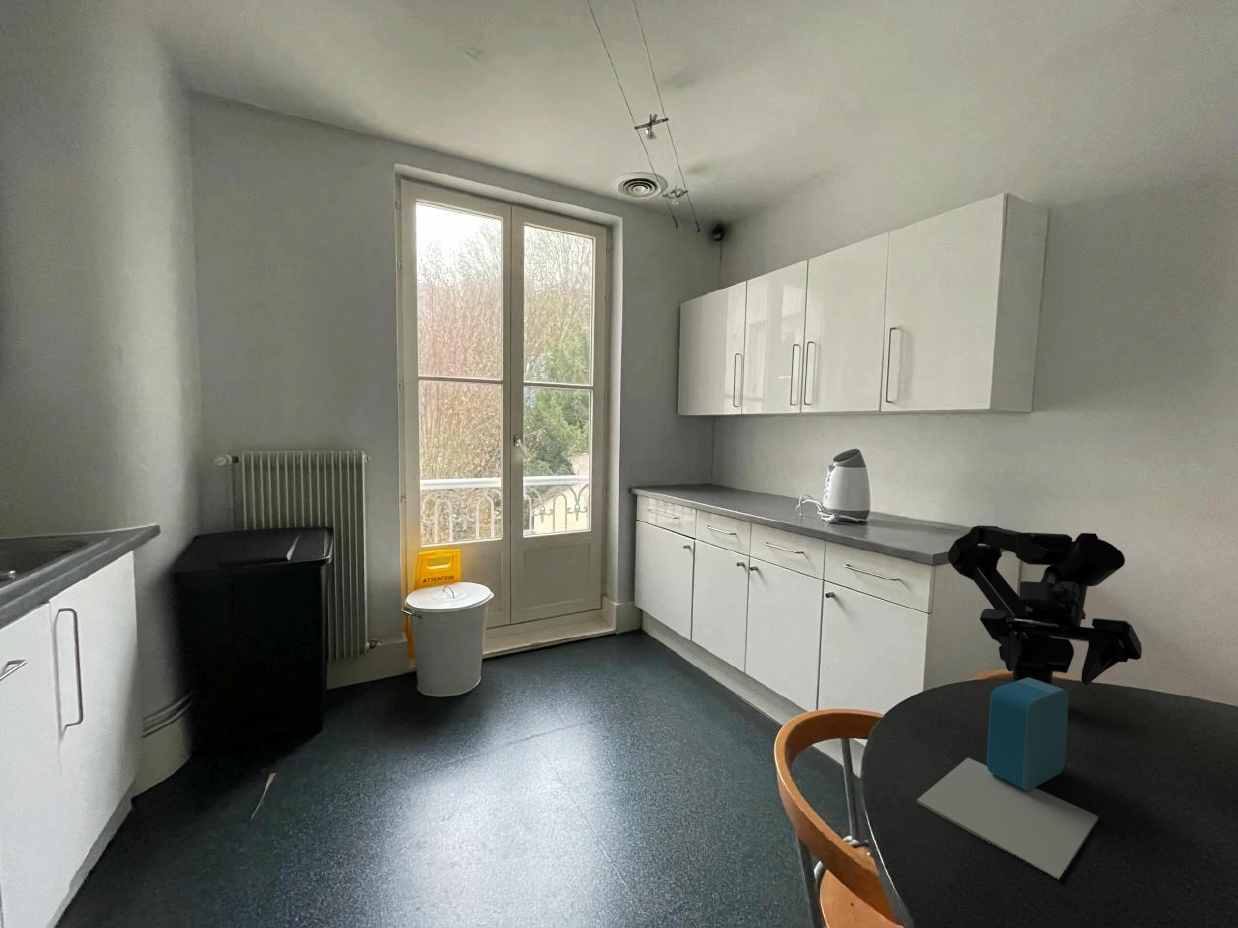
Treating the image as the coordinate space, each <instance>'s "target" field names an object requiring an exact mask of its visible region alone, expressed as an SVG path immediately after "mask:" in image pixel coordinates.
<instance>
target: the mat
mask: <svg viewBox="0 0 1238 928" xmlns="http://www.w3.org/2000/svg"><path fill="white" fill-rule="evenodd" d="M916 804H918V805H920V806H922V807H924V808H925V809H927V810H929V811H930V812H932V813H934V814H936V815H938V816H940V818H943V819H944V820H946V821H949V822H951V823H953V824H954V825H956V826H957V827H960V828H961V829H963V830H965V831H967V832H968V833H970V834H972V835H974V836H975V837H977V838H979V837H980V838H979V839H981V840H982V839H983V841H984V840H985V841H984V842H986V841H987V842H986V843H988V844H990V843H991V844H992V845H991V844H990V845H991V846H993V845H995V846H997V847H999V848H1000V849H1003V850H1004V851H1007V852H1008V853H1011V854H1012V855H1016V856H1017V857H1019V858H1020V859H1023V860H1025V861H1026V862H1027V863H1030V864H1031V865H1033V866H1034V867H1036V868H1038V869H1040V870H1042V871H1044V872H1046V873H1048V874H1049V875H1051V876H1052V877H1054V878H1057V879H1058V880H1059V879H1060V877H1061V876H1062V874H1063V873H1064V871H1065V870H1066V869H1067V870H1068V868H1069V867H1070V865H1071V863H1072V862H1073V860H1074V859H1075V857H1076V856H1077V854H1078V852H1079V851H1080V849H1081V847H1082V845H1083V844H1084V843H1085V841H1086V840H1087V838H1088V836H1089V835H1090V833H1091V832H1092V830H1093V828H1094V827H1095V825H1096V824H1097V822H1098V820H1099V816H1098V815H1096V814H1094V813H1092V812H1089V811H1088V810H1085V809H1084V808H1083V809H1082V808H1080V807H1078V806H1077V805H1074V804H1072V803H1070V802H1067V801H1065V800H1064V799H1061V798H1058V797H1056V796H1054V795H1052V794H1050V793H1047V792H1045V791H1044V790H1041V789H1038V788H1037V787H1035V788H1033V789H1031V790H1029V791H1026V790H1024V789H1022V788H1020V787H1018V786H1016V785H1014V784H1012V783H1010V782H1008V781H1006V780H1004V779H1002V778H1000V777H998V776H997V775H995V774H993V773H991V772H989V770H988V768H987V764H984V763H982V762H979V761H976V760H974V759H973V758H970V757H966V758H965V759H964V760H963V761H962V762H960V763H959V764H958V765H957V766H955V768H953V769H952V770H950V772H948V773H947V774H946V775H944V776H943V778H941V779H940V780H939V781H938V782H936V783H935V784H934V785H933V786H932V787H930V788H929V789H927V791H926V792H924V793H923V794H921V796H920V797H918V798H917V799H916ZM995 846H994V847H995ZM997 847H996V848H997ZM999 848H998V849H999ZM1000 849H999V850H1000ZM1004 851H1003V852H1004ZM1008 853H1007V854H1008ZM1073 858H1074V859H1073ZM1072 859H1073V860H1072ZM1071 861H1072V862H1071ZM1069 864H1070V865H1069ZM1068 866H1069V867H1068ZM1067 867H1068V868H1067ZM1067 870H1066V871H1067ZM1064 874H1065V873H1064ZM1062 877H1063V876H1062Z"/></svg>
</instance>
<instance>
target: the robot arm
mask: <svg viewBox="0 0 1238 928" xmlns="http://www.w3.org/2000/svg"><path fill="white" fill-rule="evenodd" d="M1002 550H1004V551H1006V552H1011V553H1013V554H1015V557H1016V558H1017V559H1018V560H1020V561H1022V562H1024V563H1025V564H1027V565H1035V566H1047V567H1046V568H1045V569H1044V572H1043V576H1042V579H1040V581H1031V580H1030V581H1027V580H1025V581H1023V580H1022V581H1020V582H1019V594H1018V593H1017V592H1016V591H1015V590H1014V589H1013V587H1012V586H1011V585H1010V584H1009V583H1008V581H1007V580H1006V579H1005V578H1004V576H1003V575H1002V574H1001V573H1000V571H999V570H998V564H999V560H1000V559H1001V558H1002V557H1003V553H1002ZM947 558H948V562H949V564H950V565H951V566H952V568H953V569H954V570H955V571H957V573H958V574H959V575H961V576H963V577H966V578H967V579H969V580H972V581H973V582H974V583H975V584H976V586H977V587H978V589H980V591H981V592H982V594H983V596H984V597H985V598H986V599H987V601H988V602H989V603H990V605H991V606H992V608H984V609H983V610H982V611H981V613H980V617H979V621H980V623H981V624H982V625H983V627H984V628H985V630H986V632H987V633H988V635H989V636H990V638H991V639H992V640H994V641H996V642H998V643H999V645H1000V646H998V652H999V659H1000V661H1003V662H1004V663H1005V668H1006V669H1007V671H1008V672H1010V673H1012V675H1011V683H1012V682H1015V681H1018V680H1022V679H1025V678H1032V679H1035V680H1038V681H1041V682H1044V683H1047V684H1050V685H1053V680H1054V679H1053V678H1054V677H1053V676H1054V672H1056V673H1063V674H1067V673H1068V671H1069V669H1070V665H1071V663H1072V661H1073V659H1074V654H1075V650H1074V646H1073V644H1072V642H1071V641H1077V642H1078V641H1079V642H1084V643H1085V642H1086V643H1088V647H1087V650H1086V655H1085V658H1084V662H1083V665H1082V670H1081V679H1080V680H1081V682H1082V684H1083V685H1085V686H1088V685H1089V684H1090V683H1092V682H1093V681H1094V680H1095V679H1097V678H1098V677H1099V676H1100V675H1101V674H1103V673H1104V672H1106V671H1107V670H1108V669H1110V668H1111V667H1113V666H1115V665H1117V664H1118V663H1127V662H1128V661H1129V660H1136V661H1138V660H1140V659H1142V653H1143V647H1142V643H1141V640H1140V639H1139V637H1138V635H1137V633H1136V631H1135V629H1134V627H1133V626H1132V624H1131V623H1129V622H1128V621H1127V620H1121V619H1110V618H1109V619H1108V618H1098V617H1096V618H1095V617H1094V618H1092V620H1091V626H1092V627H1089V626H1088V627H1086V626H1082V625H1081V624H1082V620H1086V616H1087V614H1086V612H1085V610H1084V609H1085V603H1086V597H1087V592H1088V587H1095V586H1098V585H1100V584H1101V583H1103V582H1104V581H1105V580H1106V579H1108V578H1109V577H1110V576H1112V575H1113V574H1114V573H1116V572H1117V571H1118V570H1120V569H1121V568H1122V567H1123V566H1124V565H1125V562H1126V557H1125V556H1124V553H1123V552H1122V551H1121V550H1120V549H1118V548H1117V547H1115V545H1113V544H1111V543H1110V542H1108V541H1106V540H1103V539H1100V538H1099V537H1098V535H1097V534H1096V533H1091V532H1080V533H1079V535H1077V537H1076V538H1075V540H1073V537H1072V536H1070V535H1068V533H1067V534H1066V533H1047V532H1021V531H1017V530H1013V529H1012V530H1011V529H1006V528H1002V527H1001V526H1000V527H999V526H997V525H980V524H979V525H975V526H973V527H972V528H970V530H969V532H968V533H966V534H964V535H962V536H961V537H958V538H957V539H956V540H955V541H954V542H953V543H952V545H951V547H950V548H949V550H948V551H947Z"/></svg>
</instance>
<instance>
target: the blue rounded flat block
mask: <svg viewBox="0 0 1238 928" xmlns="http://www.w3.org/2000/svg"><path fill="white" fill-rule="evenodd" d="M1069 698H1070V697H1069V693H1068V691H1067V690H1066V689H1064V688H1061V687H1058V686H1055V685H1054V684H1052V685H1050V684H1047V683H1044V682H1041V681H1038V680H1035V679H1032V678H1025V679H1022V680H1018V681H1015V682H1012V681H1011V682H1009V683H1007V684H1003V685H1000V686H997V687H995V688H994V690H993V691H992V692H991V696H990V699H989V700H990V702H989V719H988V733H987V735H988V736H987V753H986V756H987V757H986V766H987V768H988V770H989V772H991V773H993V774H995V775H997V776H998V777H1000V778H1002V779H1004V780H1006V781H1008V782H1010V783H1012V784H1014V785H1016V786H1018V787H1020V788H1022V789H1024V790H1026V791H1029V790H1031V789H1033V788H1037V787H1038V786H1040V785H1042V784H1044V783H1046V782H1048V781H1049V780H1051V779H1053V778H1055V777H1056V776H1058V775H1061V773H1062V772H1063V770H1064V768H1065V764H1066V754H1067V753H1066V750H1067V736H1068V735H1067V733H1068V715H1069V701H1070V699H1069Z"/></svg>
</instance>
